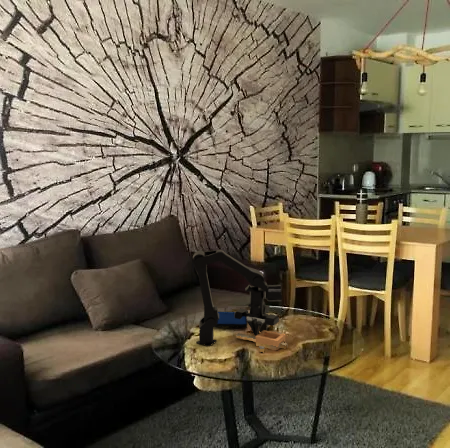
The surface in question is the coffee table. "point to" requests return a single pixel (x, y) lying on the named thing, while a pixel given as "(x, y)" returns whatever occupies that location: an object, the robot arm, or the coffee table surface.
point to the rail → (255, 338)
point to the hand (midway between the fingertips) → (256, 336)
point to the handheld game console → (230, 320)
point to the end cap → (264, 325)
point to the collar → (270, 338)
